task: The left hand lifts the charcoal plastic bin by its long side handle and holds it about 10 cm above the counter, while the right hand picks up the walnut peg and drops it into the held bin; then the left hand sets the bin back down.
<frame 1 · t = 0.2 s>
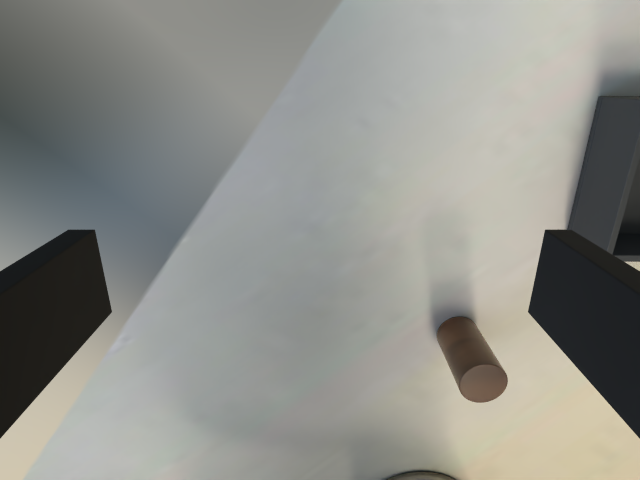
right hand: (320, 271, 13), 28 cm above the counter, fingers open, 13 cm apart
walnut peg: (456, 333, 46), on the counter
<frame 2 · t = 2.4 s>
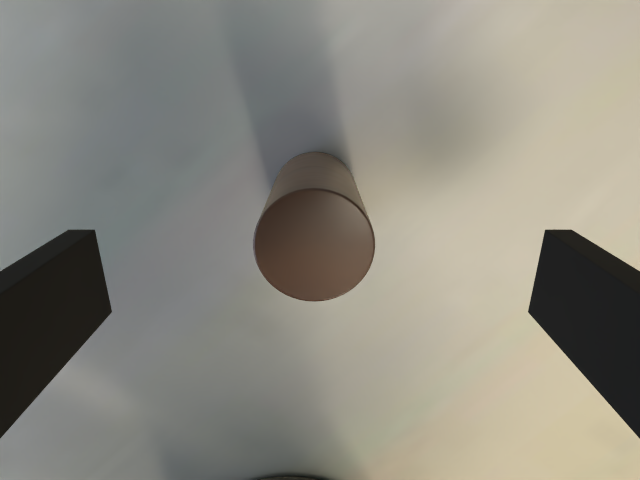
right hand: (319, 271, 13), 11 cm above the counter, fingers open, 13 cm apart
walnut peg: (314, 193, 23), on the counter
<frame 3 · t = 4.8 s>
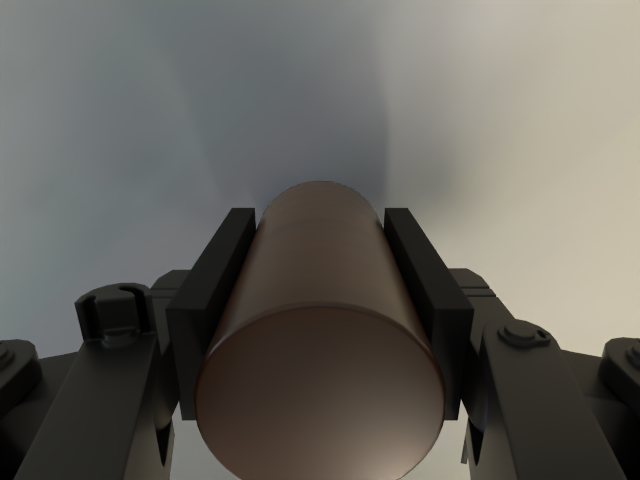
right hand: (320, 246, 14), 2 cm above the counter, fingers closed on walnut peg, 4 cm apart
walnut peg: (320, 242, 15), point 1 cm above the counter, touching right hand
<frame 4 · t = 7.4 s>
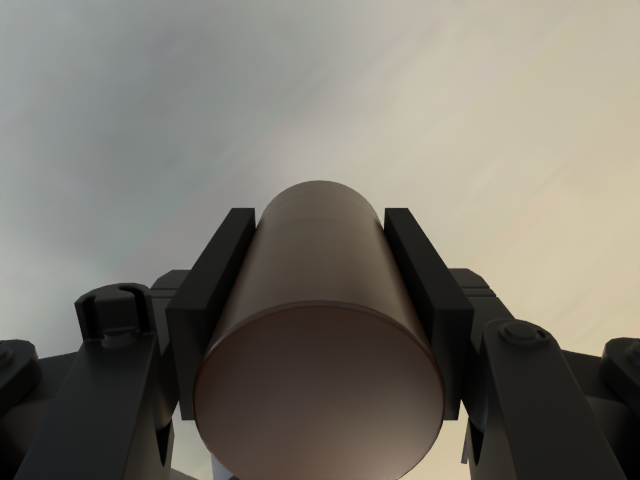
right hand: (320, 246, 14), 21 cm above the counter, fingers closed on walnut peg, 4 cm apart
walnut peg: (319, 241, 15), point 21 cm above the counter, touching right hand
when the right hand's fingers open (18 cm above the counter, at t = 9.7 s): walnut peg drops 7 cm, resting on bin.
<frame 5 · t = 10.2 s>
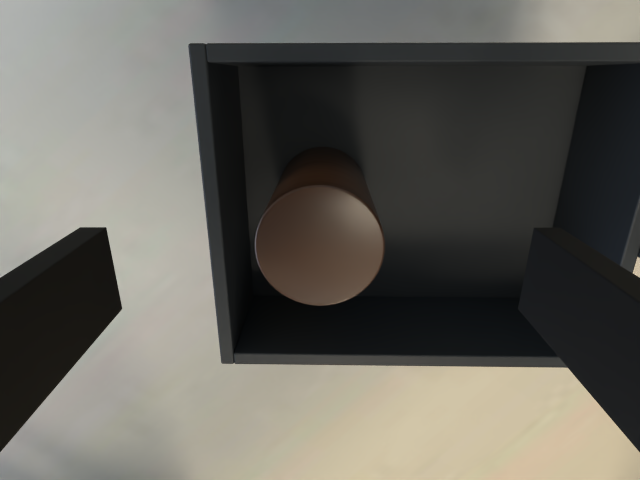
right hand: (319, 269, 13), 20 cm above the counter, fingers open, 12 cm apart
bin: (400, 189, 22), point 9 cm above the counter, touching left hand, walnut peg
walnut peg: (322, 189, 22), point 10 cm above the counter, touching bin
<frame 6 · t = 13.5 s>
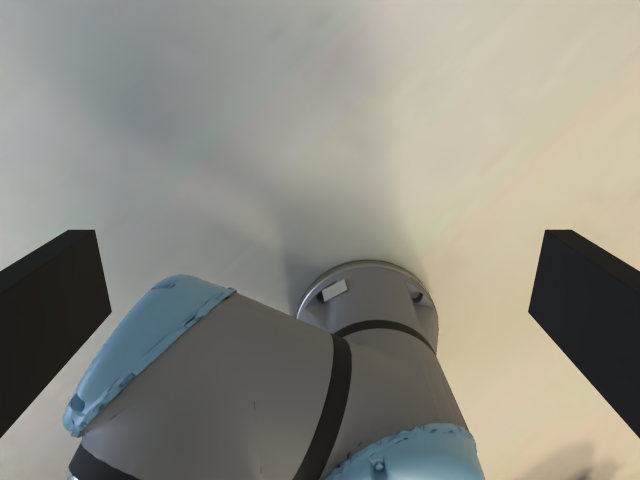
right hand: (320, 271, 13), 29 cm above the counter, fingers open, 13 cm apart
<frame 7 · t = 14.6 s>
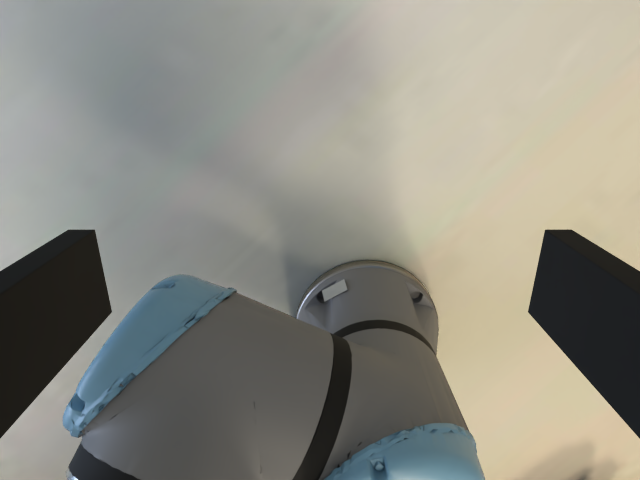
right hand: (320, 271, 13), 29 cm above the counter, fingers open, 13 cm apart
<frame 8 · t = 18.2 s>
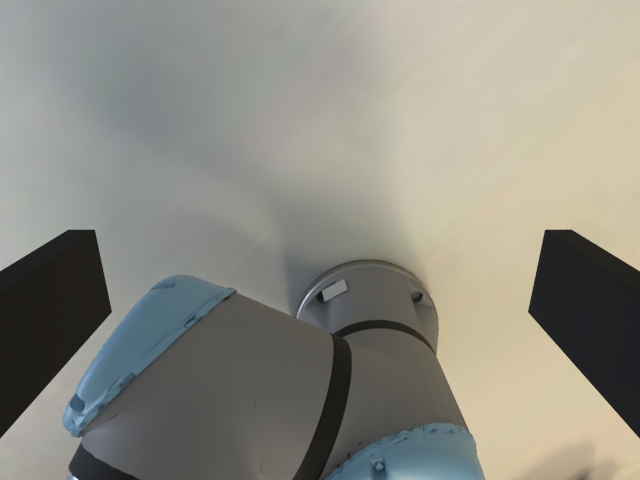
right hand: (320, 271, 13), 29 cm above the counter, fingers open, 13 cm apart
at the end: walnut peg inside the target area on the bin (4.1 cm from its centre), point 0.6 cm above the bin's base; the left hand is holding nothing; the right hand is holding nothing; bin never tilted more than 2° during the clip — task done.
